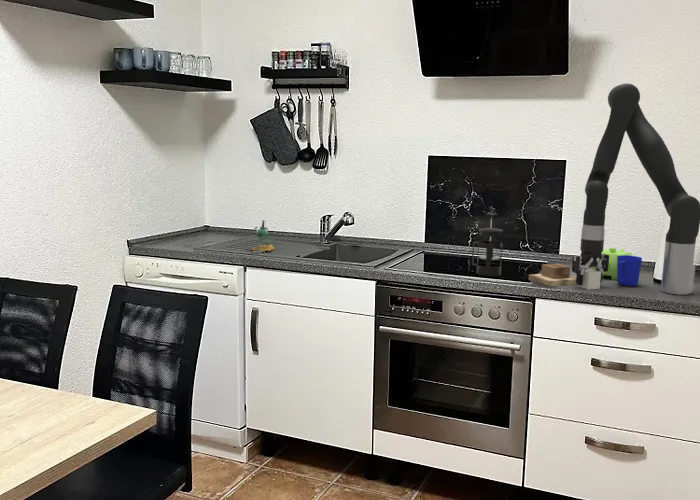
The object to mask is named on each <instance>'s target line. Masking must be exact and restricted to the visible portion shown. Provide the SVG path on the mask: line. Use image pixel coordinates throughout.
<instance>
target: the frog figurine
mask: <svg viewBox="0 0 700 500" xmlns="http://www.w3.org/2000/svg"><path fill="white" fill-rule="evenodd" d="M261 223H262V224H261V226H260V227H259V228H258V226H256V227H254V230H255V232H256V236H257V240H256V243H257V246H254V247H252V248H251V250H260V251H266V250H272V249H273V250H274V249H275V247H274V245H273V244H271V240H272V238H270V237H269V232H268V231H269V229H268V228H267V227H265V220H262V222H261ZM262 241H264V245H263V244H261V243H262ZM259 242H260V243H259ZM259 244H260V245H259ZM273 250H272V251H273Z"/></svg>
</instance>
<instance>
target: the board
mask: <svg viewBox="0 0 700 500" xmlns="http://www.w3.org/2000/svg"><path fill="white" fill-rule="evenodd" d="M528 281H530V282H533V283H536V284H540V285H542V286H546V287H548V288H549V287H563V286H565V287H566V286H578V285H577V283H576V276H574V275H571V274H570V278H562V279H551V278H548V277H545V276H542V275H541V273H535V274H533V273H532V274H528Z"/></svg>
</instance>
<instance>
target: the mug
mask: <svg viewBox="0 0 700 500" xmlns="http://www.w3.org/2000/svg"><path fill="white" fill-rule="evenodd" d="M642 261H643V258H642V257H641V256H636V255H631V256H629V255H620V256H617V280H616V281H617V283H618V284H619V285H622V286H624V287H634V286H637V285H638V283H639V278H640V275H641V268H642Z"/></svg>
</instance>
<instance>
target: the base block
mask: <svg viewBox="0 0 700 500" xmlns="http://www.w3.org/2000/svg"><path fill="white" fill-rule="evenodd" d="M540 274H541V275H542V276H545V277H548V278H551V279H562V278H570V275H571V266H568V265H564V264H561V263H548V264H547V263H546V264H544V263H543V264H541V272H540Z"/></svg>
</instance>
